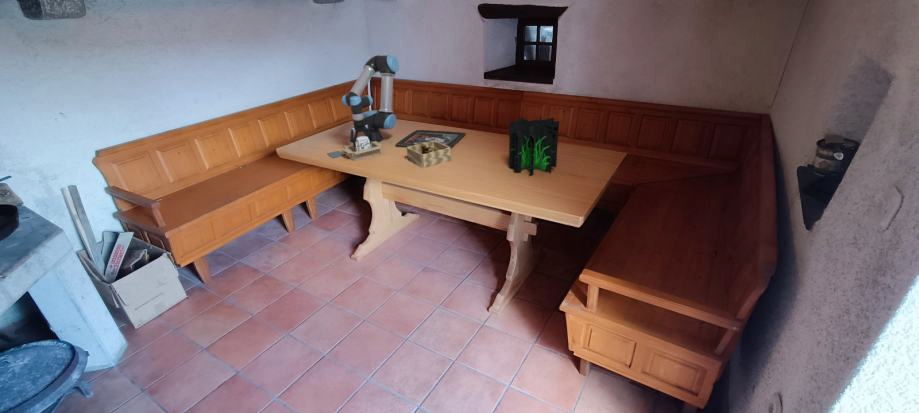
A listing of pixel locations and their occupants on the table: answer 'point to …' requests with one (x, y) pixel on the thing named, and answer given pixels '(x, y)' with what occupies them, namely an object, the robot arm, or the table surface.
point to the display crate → (429, 154)
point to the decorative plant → (533, 145)
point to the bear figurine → (426, 149)
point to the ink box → (362, 143)
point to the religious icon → (431, 138)
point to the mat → (335, 154)
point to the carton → (363, 151)
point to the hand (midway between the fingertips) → (363, 149)
